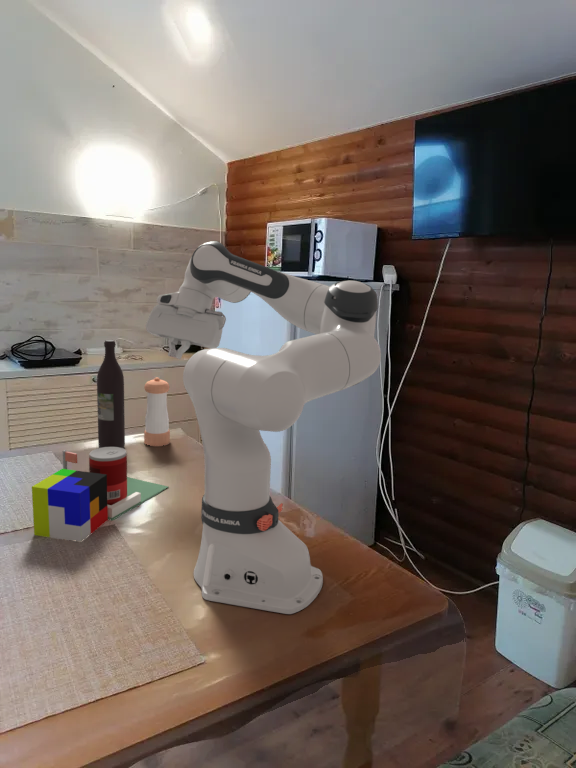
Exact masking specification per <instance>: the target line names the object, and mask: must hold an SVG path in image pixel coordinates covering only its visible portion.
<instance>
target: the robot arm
mask: <svg viewBox="0 0 576 768" xmlns="http://www.w3.org/2000/svg"><path fill="white" fill-rule="evenodd" d="M251 293H253V294H254V295H256V296H257V297H258V298H260V299H262V301H264V302H266V303H267V304H268V305H269V306H270V307H271V308H272V309H273V310H274V311H276V313H277V314H278V315H280V317H281V318H283V319H284V320H285V321H287V322H289V323H290V324H292V325H294V326H295V327H297V328H299V329H301V330H304V331H305V332H308V333H312V334H313V335H309V336H305V337H301V338H300V337H299V338H296V339H292V340H288V341H286V342H285V343H283V345H282V346H281V347H280V349H279V350H278V351H277V352H275V353H273V354H269V355H268V354H267V355H259V354H258V355H257V354H256V355H254V354H249V353H244V352H240V351H237V350H233V349H230V348H225V347H219V346H220V344H221V343H220V342H221V339H222V334H223V330H224V327H225V323H226V321H227V318H226V316H225V315H224V314H223V312H222V311H219V310H218V311H217V310H213V309H211V307H212V305H213V302H214V299H215V298H219V299H221V300H223V301H226V302H229V303H232V304H236V303H240V302H242V301H245V299H247V298H249V297H248V296H249V295H250V294H251ZM156 303H157V304H156V305H155V306H153V308H152V309H151V312H150V313H149V315H148V318H147V320H146V324H145V329H146V332H147V333H149V334H150V335H152V336H156V337H160V338H163V339H168V341H167V342H168V348H169V351H168V353H167V356H168V357H170V358H173V359H177V360H181V359H182V357H183V354H184V353H186V351H188V350H189V349H190V347H191V345H195V346H199V347H203V348H205V349H202V350H198V351H197V352H195V353H194V354H193V355H191V357H189V359H188V361H187V362H186V364H185V365H184V368H183V374H182V382H183V387H184V388H185V390H186V393H187V395H188V396H189V398H190V400H191V403H192V405H193V408H194V413H195V417H196V419H197V423H198V428H199V432H200V438H201V443H202V449H203V456H204V457H203V458H204V494H203V495H202V499H201V510H200V512H201V514H200V517H201V518H200V519H201V524H202V533H201V540H200V541H201V542H200V547H199V551H198V556H197V560H196V563H195V566H194V569H193V577H194V580H195V582H196V583H197V584H198V586H199V587H200V588H201V597H202V598H203V599H204V600H206V601H211V602H216V603H222V604H227V605H231V606H232V605H233V606H238V607H244V608H251V609H256V610H262V611H268V612H274V613H278V614H279V613H280V614H284V615H293V614H295V613H298V612H300V611H301V610H303V609H305V608H307V607H308V606H309V605H311V604H312V602H313V601H314V600H315V599H316V598H317V597H318V594H320V592H321V590H322V587H323V585H324V584H323V583H324V579H323V578H324V577H323V572H322V571H321V569H319V568H318V567H315V566H313V565H312V564H311V557H310V553H309V549H308V546H307V545H306V543H304V542H303V541H302V540H301V539H300V538H299V537H298V536H297V535H295V534H294V533H293V532H292V530H290V529H289V528H288V527H287V526H286V525H285V524H284V523H283V522H282V521H281V520H279V515H280V513H281V512H282V511H283V505H284V503H282V502H281V503H280V504H279V505H277V506H276V504H274V502H273V499H272V496H271V494H270V493H271V492H270V491H271V475H272V473H271V472H272V470H271V468H272V458H271V457H272V456H271V452H270V450H269V448H268V446H267V444H266V443H265V441H264V439H263V436H262V435H261V432H260V431H262V432H274V433H278V432H279V433H280V432H283V431H285V430H288V429H289V428H290V427H292V426H293V425H294V424H296V422H297V421H298V420H299V418H300V416H301V415H302V412H303V409H304V406H305V405H306V403H309V402H311V401H313V400H316V399H319V398H322V397H325V396H328V395H331V394H334V393H337V392H339V391H340V392H341V391H343V390H346V389H348V388H351V387H354V386H356V385H358V384H360V383H361V382H363V381H365V380H366V379H367V378H369V377H371V376H372V375H373V374H374V373H375V372H376V371H377V370H378V368H379V366H380V364H381V358H382V353H381V348H380V345H379V343H378V340H376V338H375V332H376V324H377V323H376V319H377V317H376V316H377V315H376V314H377V313H376V312H377V310H378V305H379V304H378V295H377V292H376V291H375V289H373V287H372V286H370V285H368V284H367V283H364V282H361V281H357V280H349V279H348V280H340V281H337V282H334V283H333V284H331V285H327V284H323V283H319V282H316V281H313V280H308V279H306V278H302V277H299V276H294V275H292V274H288V273H285V272H281V271H278V270H275V269H273V268H270V267H267V266H264V265H261V264H259V263H258V262H254V261H251V260H248V259H245V258H243V257H241V256H238V255H236V254H233V253H232V252H230V250H228V248H226V246H225V245H224V244H223V243H222V242H219V241H217V240H211V241H208V242H204V243H203V244H200V245H199V246H198V247H197V248H195V250H194V251H193V253H192V255H191V257H190V259H189V261H188V264H187V266H186V269H185V272H184V279H183V282H182V284H181V285H180V287H179V289H178V291H175V292H171V293H167V294H159V295H158V296H157V299H156ZM179 342H180V345H181V346H180V347H179V348H178V349H176V346H177V345H178V343H179Z"/></svg>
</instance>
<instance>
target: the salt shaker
mask: <svg viewBox="0 0 576 768" xmlns="http://www.w3.org/2000/svg"><path fill="white" fill-rule="evenodd" d="M143 389H144V391H145V392H146V394H147V395H146V397H147V398H146V399H147V400H146V413H145V418H144V423H145V430H144V431H143V439H144V440H143V443H144V444H145V445H146V444H147V446H148V445H150V446H149V447H162V446H163V445H164V446H167V445H169V444H170V443H171V431H170V428H169V423H170V419H169V412H168V398H167V396H168V395H167V393H168V392H169V391H170V384H169V382H167V381H166V380H163V379H160V377H157V376H156V377H154V378H153V379H151V380H147V381H146V383H145V384H144V388H143Z"/></svg>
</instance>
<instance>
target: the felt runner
mask: <svg viewBox="0 0 576 768" xmlns="http://www.w3.org/2000/svg"><path fill="white" fill-rule="evenodd" d="M166 488H167V489H169V486H168V485H163V484H159V483H154V482H151V481H146V480H142V479H138V478H133V477H130V476H129V477H128V476H127V497H128V496H130V495H132V494H133V493H135V492H139V493H141V502H139V503H137V504H136V505H134V506H132V507H130V508H129V509H127V510H125V511H123V512H122V513H120V514H118V515H116V516H115V517H113V518H111V517H108V520H107V521H114V520H115V519H117V518H119V517H120V516H122V515H124V514H125V513H127V512H129V511H131V510H133V509H134V508H136V507H138V506H140V505H141V504H143V503H145V502H146V501H148V500H150V499H152V498H153V497H155V496H156V495H159V494H161V493H162V492H164V491H165V490H167V489H166ZM163 490H164V491H163Z"/></svg>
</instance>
